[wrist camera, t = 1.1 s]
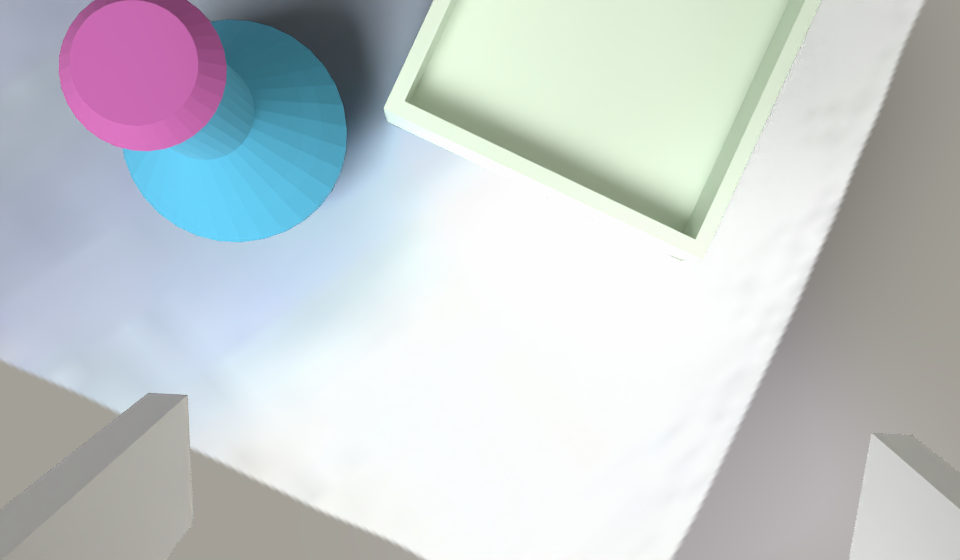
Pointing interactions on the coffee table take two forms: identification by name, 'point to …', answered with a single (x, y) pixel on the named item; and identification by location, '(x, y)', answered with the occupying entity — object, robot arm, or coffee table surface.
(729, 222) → the coffee table surface
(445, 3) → the parts tray
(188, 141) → the perfume bottle
